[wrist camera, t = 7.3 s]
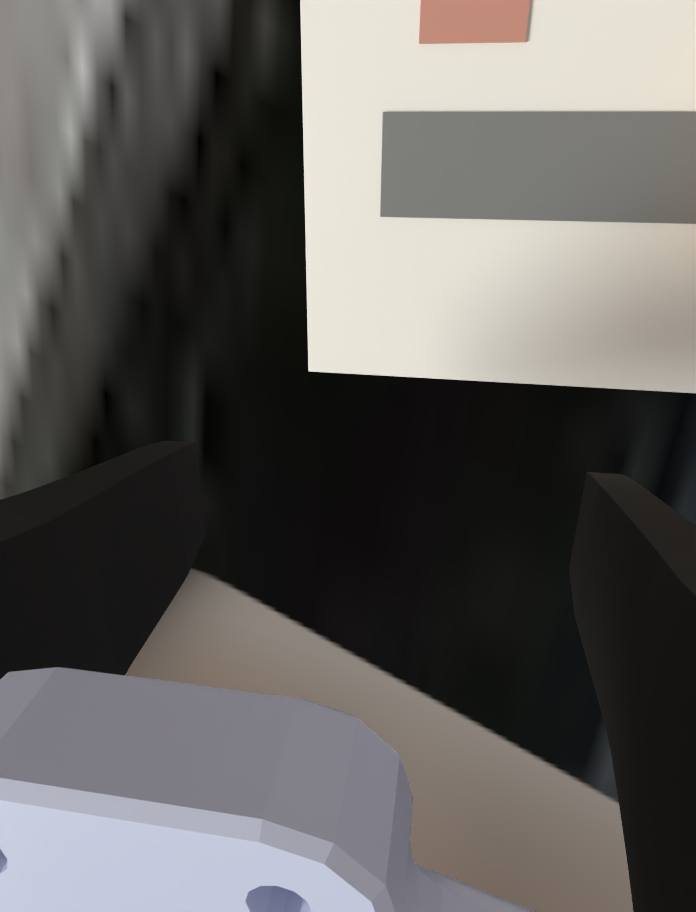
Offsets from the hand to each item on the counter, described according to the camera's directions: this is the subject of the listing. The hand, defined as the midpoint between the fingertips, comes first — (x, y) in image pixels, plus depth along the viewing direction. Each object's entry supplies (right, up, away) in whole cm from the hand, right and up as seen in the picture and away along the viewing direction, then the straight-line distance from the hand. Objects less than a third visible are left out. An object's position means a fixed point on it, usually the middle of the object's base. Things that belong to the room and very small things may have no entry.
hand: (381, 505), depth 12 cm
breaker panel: (+6, +9, +5) cm, 12 cm away
